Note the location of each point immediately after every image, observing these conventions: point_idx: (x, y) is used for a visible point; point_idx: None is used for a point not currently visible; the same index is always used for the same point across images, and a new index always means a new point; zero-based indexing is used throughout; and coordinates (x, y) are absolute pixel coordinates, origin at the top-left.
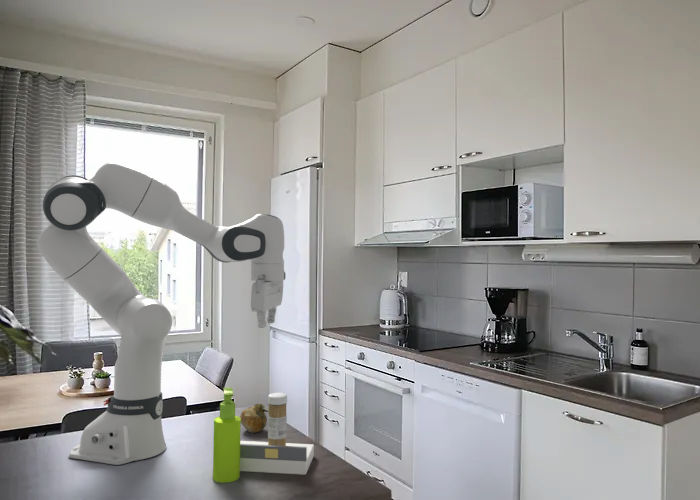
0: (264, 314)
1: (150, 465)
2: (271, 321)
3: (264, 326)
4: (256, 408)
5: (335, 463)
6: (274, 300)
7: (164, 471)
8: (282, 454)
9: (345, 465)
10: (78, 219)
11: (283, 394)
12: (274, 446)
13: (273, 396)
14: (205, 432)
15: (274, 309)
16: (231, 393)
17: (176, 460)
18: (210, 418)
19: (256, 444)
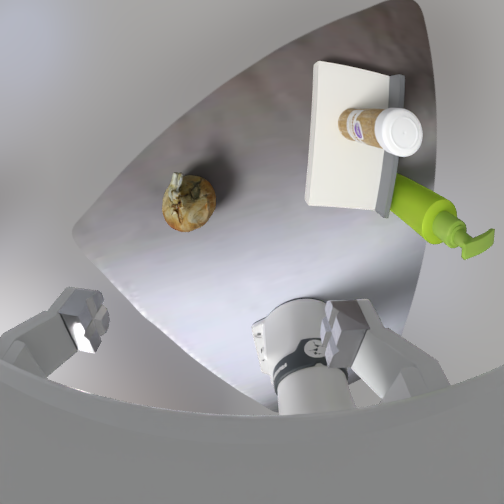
0: (438, 365)
1: (349, 294)
2: (97, 306)
3: (370, 302)
4: (187, 203)
5: (338, 33)
6: (102, 486)
7: (369, 272)
8: None
9: (343, 20)
10: None
11: (403, 117)
12: None
13: (417, 143)
14: (214, 272)
15: (25, 354)
16: (493, 233)
17: (335, 272)
18: (147, 284)
19: (327, 164)
